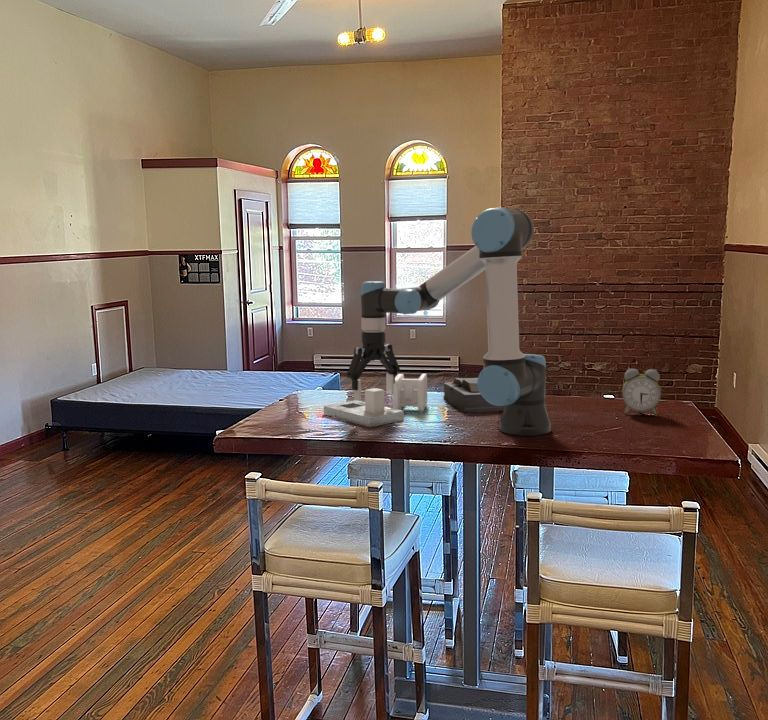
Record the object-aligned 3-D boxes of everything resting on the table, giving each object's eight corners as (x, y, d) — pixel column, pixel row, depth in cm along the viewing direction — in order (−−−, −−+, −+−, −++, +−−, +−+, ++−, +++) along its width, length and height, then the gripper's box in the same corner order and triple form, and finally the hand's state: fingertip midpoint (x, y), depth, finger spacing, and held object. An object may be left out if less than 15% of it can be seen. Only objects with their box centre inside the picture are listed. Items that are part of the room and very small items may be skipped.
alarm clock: (621, 415, 235) (623, 369, 233) (621, 411, 242) (622, 366, 239) (660, 417, 232) (662, 370, 229) (659, 413, 238) (660, 367, 236)
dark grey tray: (450, 414, 242) (450, 385, 241) (441, 398, 269) (441, 371, 267) (520, 412, 243) (520, 383, 241) (504, 396, 269) (505, 370, 268)
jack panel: (403, 419, 234) (403, 410, 233) (370, 427, 225) (370, 417, 224) (356, 408, 252) (356, 399, 251) (323, 414, 243) (323, 405, 242)
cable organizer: (422, 414, 241) (422, 380, 239) (391, 414, 242) (390, 379, 241) (427, 405, 255) (427, 372, 254) (397, 404, 257) (397, 372, 255)
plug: (384, 420, 233) (384, 389, 232) (374, 422, 231) (373, 391, 229) (373, 417, 238) (372, 387, 236) (362, 419, 235) (362, 389, 233)
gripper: (395, 326, 240) (395, 390, 243) (334, 333, 224) (335, 400, 227) (410, 328, 235) (410, 393, 238) (349, 335, 218) (350, 404, 222)
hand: (374, 397), depth 233 cm, fingers open, 13 cm apart
